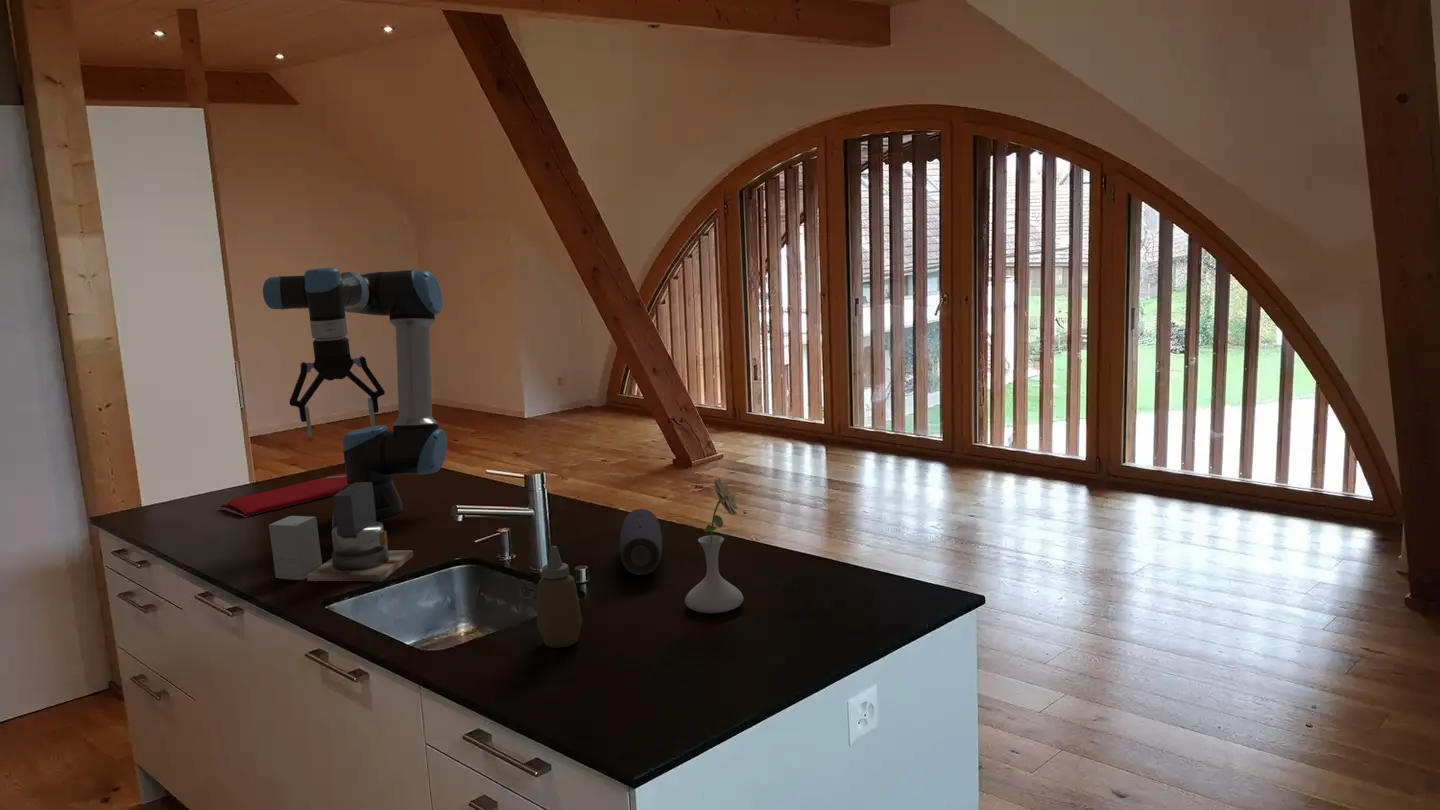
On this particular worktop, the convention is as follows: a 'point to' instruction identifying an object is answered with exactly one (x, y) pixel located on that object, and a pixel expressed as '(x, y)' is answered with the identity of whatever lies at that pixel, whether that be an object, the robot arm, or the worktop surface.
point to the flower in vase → (715, 566)
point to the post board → (362, 574)
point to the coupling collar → (357, 522)
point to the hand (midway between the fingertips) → (342, 431)
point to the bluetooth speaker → (640, 542)
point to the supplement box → (295, 547)
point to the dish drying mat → (288, 495)
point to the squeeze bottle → (558, 604)
